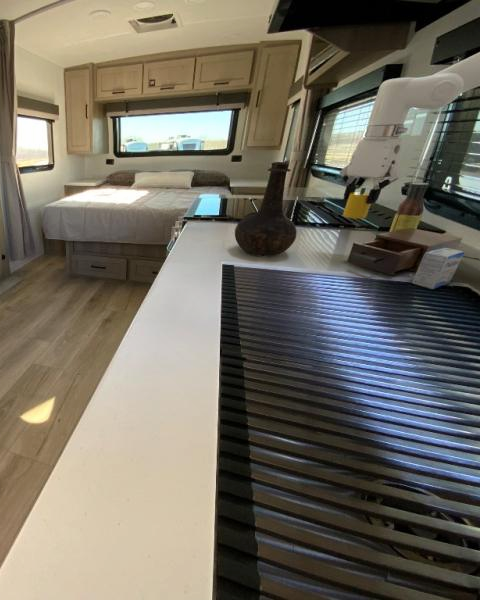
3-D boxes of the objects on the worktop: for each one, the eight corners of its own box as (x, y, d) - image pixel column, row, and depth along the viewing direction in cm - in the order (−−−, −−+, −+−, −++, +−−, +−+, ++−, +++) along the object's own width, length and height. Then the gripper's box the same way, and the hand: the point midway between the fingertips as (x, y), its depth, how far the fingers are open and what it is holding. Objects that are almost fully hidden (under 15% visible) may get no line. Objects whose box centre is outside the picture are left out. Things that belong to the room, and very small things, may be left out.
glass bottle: (260, 241, 120) (278, 158, 108) (304, 256, 105) (331, 162, 93) (220, 248, 116) (233, 162, 103) (259, 265, 101) (281, 166, 88)
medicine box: (432, 290, 82) (449, 257, 78) (410, 283, 85) (425, 251, 81) (449, 283, 84) (466, 251, 80) (427, 277, 88) (442, 246, 84)
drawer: (380, 278, 87) (389, 257, 84) (336, 264, 97) (343, 245, 94) (424, 266, 93) (433, 246, 90) (378, 254, 102) (386, 236, 100)
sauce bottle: (414, 248, 108) (442, 184, 99) (394, 248, 109) (420, 185, 100) (397, 242, 114) (422, 181, 105) (379, 242, 114) (402, 182, 105)
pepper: (370, 217, 98) (381, 188, 94) (357, 219, 96) (367, 190, 93) (351, 213, 103) (360, 185, 99) (338, 215, 101) (347, 187, 97)
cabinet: (416, 272, 91) (428, 246, 88) (367, 258, 102) (376, 234, 98) (449, 263, 96) (462, 237, 93) (399, 250, 107) (409, 227, 103)
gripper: (430, 131, 83) (400, 205, 91) (357, 132, 97) (338, 195, 106) (411, 133, 81) (383, 208, 89) (340, 133, 95) (321, 198, 103)
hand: (358, 200), depth 97 cm, fingers closed on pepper, 5 cm apart
